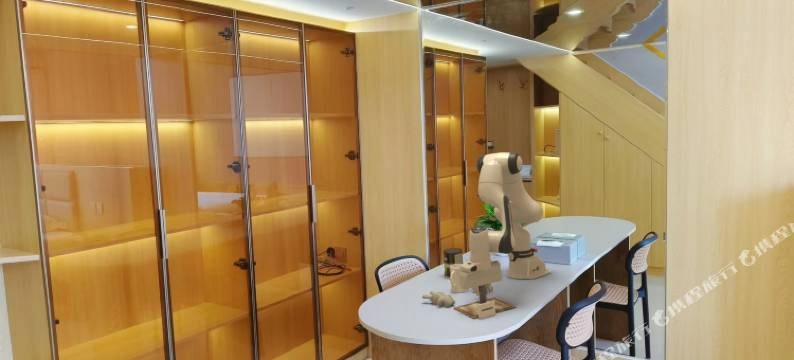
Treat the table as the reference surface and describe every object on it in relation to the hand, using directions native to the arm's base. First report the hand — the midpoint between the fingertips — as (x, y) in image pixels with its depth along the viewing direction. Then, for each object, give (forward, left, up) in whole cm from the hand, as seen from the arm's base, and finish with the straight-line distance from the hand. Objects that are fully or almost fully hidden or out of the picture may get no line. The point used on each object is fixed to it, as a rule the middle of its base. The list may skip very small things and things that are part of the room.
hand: (482, 294), depth 239 cm
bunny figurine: (+13, -16, -6) cm, 21 cm away
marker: (0, 0, -4) cm, 4 cm away
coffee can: (-16, -49, -6) cm, 51 cm away
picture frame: (0, +1, -6) cm, 6 cm away
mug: (-4, -27, -6) cm, 27 cm away
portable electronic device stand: (-12, -19, -6) cm, 23 cm away
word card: (+5, +10, -6) cm, 13 cm away
